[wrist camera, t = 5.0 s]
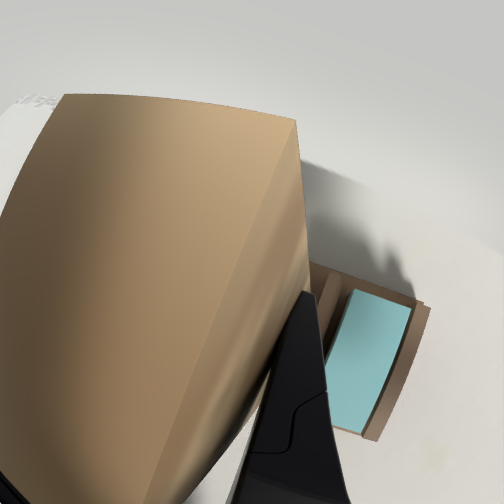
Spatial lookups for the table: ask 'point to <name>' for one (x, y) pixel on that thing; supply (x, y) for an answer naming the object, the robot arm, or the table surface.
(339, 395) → the offcut upper
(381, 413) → the rack
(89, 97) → the oak board
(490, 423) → the table surface
